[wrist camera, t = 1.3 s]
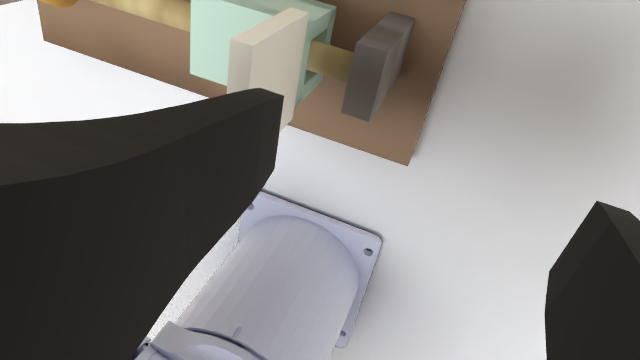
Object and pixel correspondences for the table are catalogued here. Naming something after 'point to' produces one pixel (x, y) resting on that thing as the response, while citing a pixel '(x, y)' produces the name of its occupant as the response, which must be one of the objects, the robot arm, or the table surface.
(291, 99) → the green sliding block
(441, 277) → the table surface
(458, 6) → the brown plate
